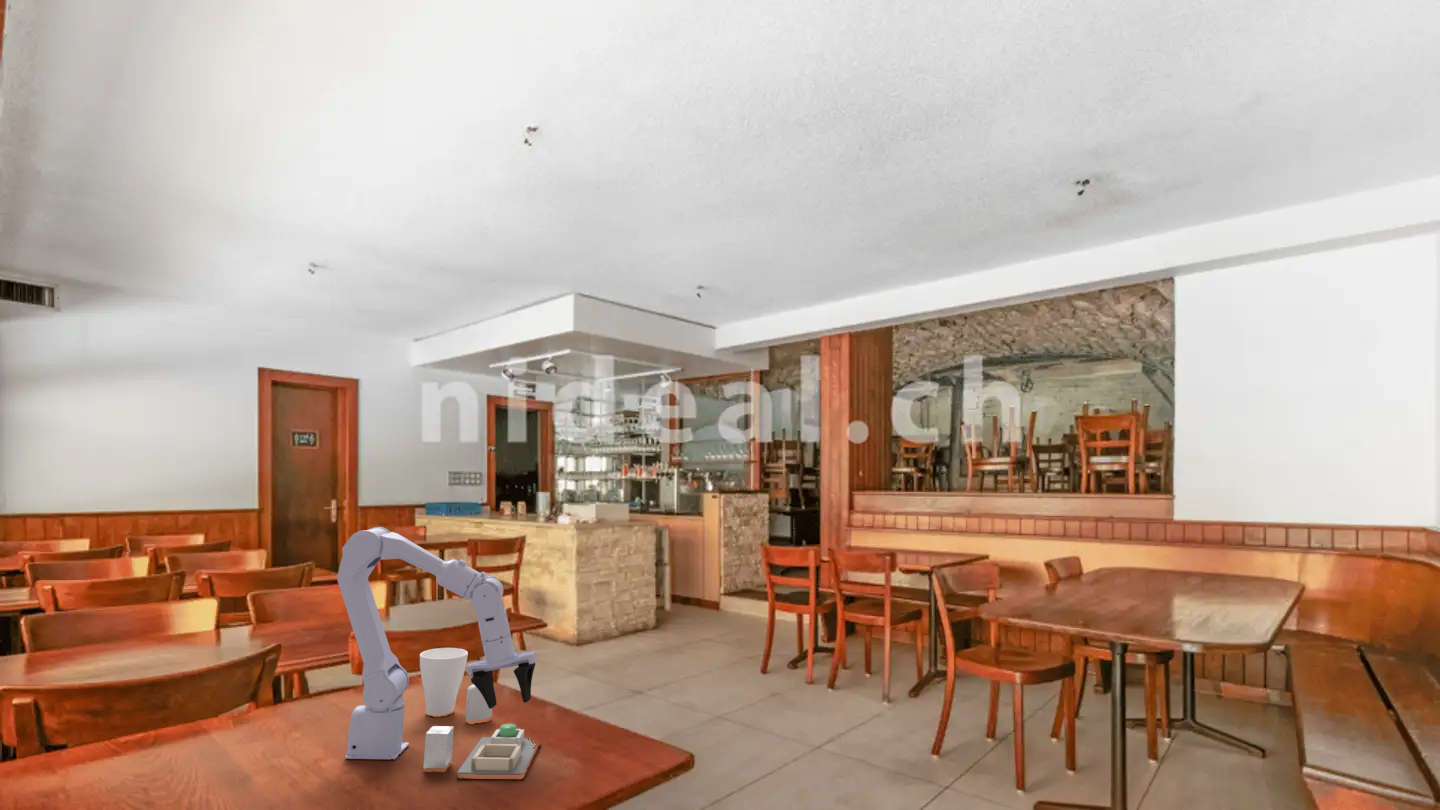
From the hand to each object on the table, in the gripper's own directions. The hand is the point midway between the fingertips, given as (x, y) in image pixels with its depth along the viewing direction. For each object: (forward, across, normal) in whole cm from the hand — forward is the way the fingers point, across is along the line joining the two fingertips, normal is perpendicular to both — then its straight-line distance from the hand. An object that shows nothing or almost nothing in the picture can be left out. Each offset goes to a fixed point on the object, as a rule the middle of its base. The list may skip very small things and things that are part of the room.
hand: (510, 703), depth 152 cm
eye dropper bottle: (+7, +16, -14) cm, 22 cm away
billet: (+6, +11, +12) cm, 17 cm away
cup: (+4, +27, -16) cm, 32 cm away
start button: (+7, +2, 0) cm, 7 cm away
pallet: (+9, +1, +5) cm, 10 cm away
